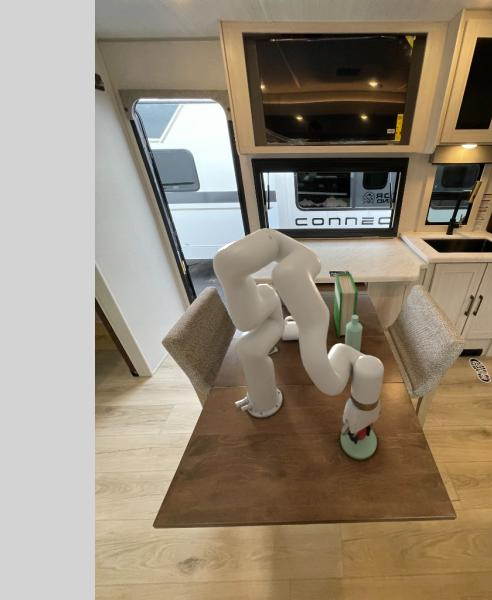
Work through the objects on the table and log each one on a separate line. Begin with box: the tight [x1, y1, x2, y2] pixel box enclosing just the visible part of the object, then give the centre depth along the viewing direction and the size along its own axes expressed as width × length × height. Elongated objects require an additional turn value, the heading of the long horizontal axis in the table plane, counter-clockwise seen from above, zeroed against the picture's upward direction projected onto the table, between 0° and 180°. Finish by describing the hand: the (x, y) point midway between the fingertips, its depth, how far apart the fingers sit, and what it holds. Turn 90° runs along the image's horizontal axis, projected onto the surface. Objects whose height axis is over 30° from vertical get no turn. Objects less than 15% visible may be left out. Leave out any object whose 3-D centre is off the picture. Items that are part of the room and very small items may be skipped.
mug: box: [281, 315, 299, 341], centre depth 119 cm, size 8×10×12 cm
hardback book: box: [333, 272, 359, 338], centre depth 124 cm, size 18×7×24 cm, turn 4°
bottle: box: [344, 314, 363, 353], centre depth 109 cm, size 7×7×19 cm
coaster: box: [340, 428, 378, 460], centre depth 81 cm, size 11×11×1 cm
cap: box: [357, 427, 366, 440], centre depth 79 cm, size 4×4×4 cm
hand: (359, 435), depth 80 cm, fingers closed on cap, 3 cm apart
